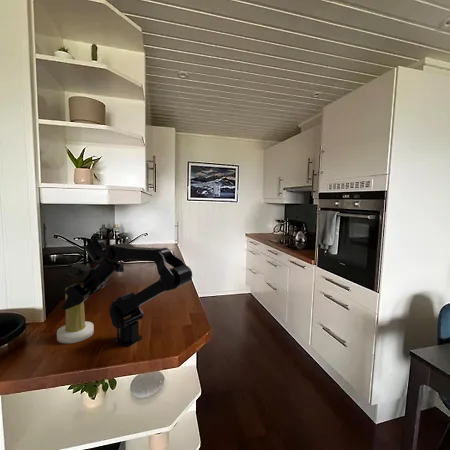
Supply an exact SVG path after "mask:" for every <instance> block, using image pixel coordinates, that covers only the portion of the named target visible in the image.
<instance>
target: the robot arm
mask: <svg viewBox="0 0 450 450" xmlns="http://www.w3.org/2000/svg"><path fill="white" fill-rule="evenodd" d="M84 251H85V252H86V253H87V254H88V256H89V257H90V259H91V260H92V261H93V263H97V265H96V266H95V267H94V268H91V267H90V266H87V265H85V264H83V263H82V262H76V263H74V264H72V265H70V268H68V269H67V270H68V275H69V276H73V277H75V278H77V279H79V280H78V281H79V282H80V283H81V284H82V285H81V284H80V283H72V284H71V285H70V286H67V287H68V288H67V287H66V288H67V289H66V288H65V289H66V290H65V289H64V294H65V293H66V295H67V296H68V297H67V299H66V298H65V302H64V303H63V305H62V307H61V309H62V310H63V311H66V309H69V308H71V307H74V306H76V305H80V304H81V303H82V302H85V301H86V300H87V299H88V298H89V297H90V295H93V294H95V293H97V292H99V291H100V290H102V289H103V288H104V287H105V286H106V285H107V281H108V280H110V278H111V277H112V275H113V274H114V273H115V272H116V273H124V272H125V271H124V270H125V269H124V264H123V263H120V262H121V261H127V260H130V261H141V262H153V263H155V266H156V268H157V274H158V275H159V278H158V280H157V281H155V282H154V283H152V284H151V285H149V286H147V287H145V288H143V289H142V290H140V291H139V292H136V294H135V292H134V291H131V292H129V293H127V294H124V295H121V296H119V297H118V298H117V299H114V300H112V301H111V304H110V306H109V308H110V309H109V316H110V319H111V325H112V326H113V327H115V329H116V337H117V338H116V339H114V341H113V343H114V344H118V345H122V346H124V347H125V346H126V347H130V346H132V345H133V344H135V343H137V342H138V341H140V340H142V339H143V336H142V335H140V332H139V331H140V328H139V327H140V323H139V321H140V320H143V318H144V312H143V310H142V309H141V306H142V305H144V304H146V303H147V302H149V301H150V300H151V301H152V299H154V298H156V297H157V296H159V295H161V294H163V293H165V292H169V291H171V290H175V289H178V288H180V287H182V286H184V285H187V284H189V283H191V282H192V280H193V271H192V269H191V267H189V266H188V265H187V264H186V263H185V262H184V260H182V259H181V258H180V257H178V256H176V255H175V254H174V253H173V252H172V251H171V250H170V249H169V248H168V247H161V248H160V247H144V246H143V247H142V246H138V247H137V246H133V245H132V244H131V243H127V242H121V243H112V244H108V245H106V243H105V242H104V241H103V239H102V238H101V237H95V239H94V240H91V241H90V242H89V243H87V244H86V245H85V246H84ZM167 264H168V265H169V266H171V268H169V267H168V266H167ZM82 286H83V287H82Z"/></svg>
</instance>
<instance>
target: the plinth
mask: <svg viewBox="0 0 450 450" xmlns="http://www.w3.org/2000/svg"><path fill="white" fill-rule="evenodd" d="M85 325H86V327H85V328H84V329H82V330H80V331H77V332H67V331H66V330H65V327H66V324H65V325H62V326H60V328H58V329H57V330H56V340H57V342H58V343H59V344H74V343H79V342H82V341H85V340H87V339H89V338H91V336H93V335H94V332H95V330H94V329H95V328H94V327H95V326H94V323H93V322H91V321H86V320H85Z"/></svg>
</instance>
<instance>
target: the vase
mask: <svg viewBox="0 0 450 450" xmlns="http://www.w3.org/2000/svg"><path fill="white" fill-rule="evenodd" d="M81 286H82V287H84V285H81ZM68 287H69V286H67V287H65V289H64V291H65V290H66V289H67V288H68ZM64 294H65V295H64V296H65V300H66V299H67V297H68V296H67V295H66V293H65V292H64ZM84 302H85V301H84ZM84 302H82V303H81V304H80V305H76V306H74V307H71V308H69V309H66V310H65V325H66V327H65V330H66V331H67V332H77V331H80V330H82V329H84V328H85V327H86V325H85V321H86V317H85V316H86V315H85V303H84Z"/></svg>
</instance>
